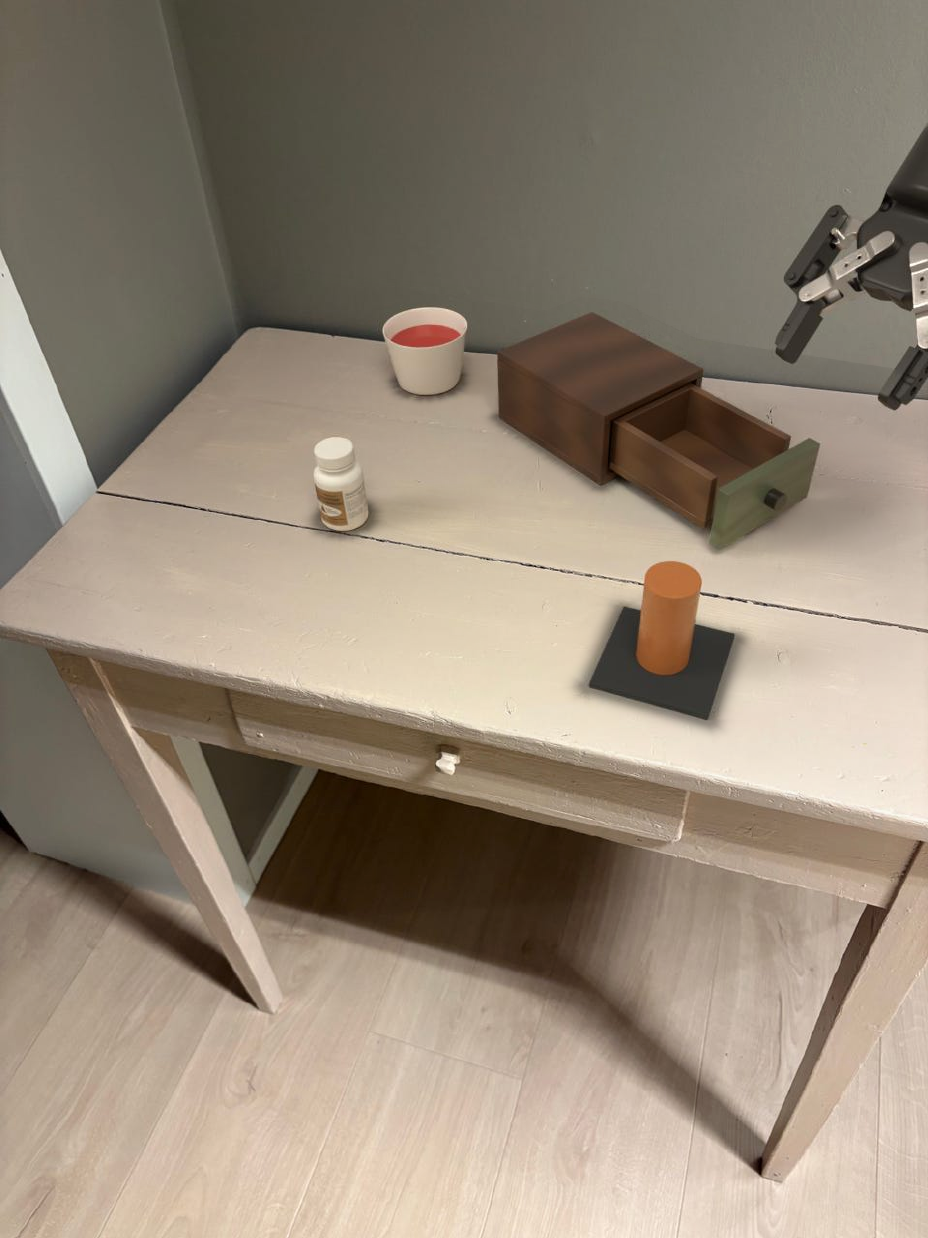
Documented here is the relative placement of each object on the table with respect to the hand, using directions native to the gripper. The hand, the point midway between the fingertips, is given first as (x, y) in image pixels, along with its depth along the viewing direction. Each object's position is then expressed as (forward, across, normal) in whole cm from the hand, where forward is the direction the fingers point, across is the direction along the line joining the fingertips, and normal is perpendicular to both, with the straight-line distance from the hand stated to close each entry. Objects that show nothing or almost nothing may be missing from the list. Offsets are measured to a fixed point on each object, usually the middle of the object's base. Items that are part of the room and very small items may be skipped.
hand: (832, 381), depth 65 cm
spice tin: (+23, -1, +2) cm, 23 cm away
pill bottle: (+29, -32, -6) cm, 44 cm away
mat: (+23, -1, +3) cm, 23 cm away
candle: (+16, -48, +9) cm, 51 cm away
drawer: (+11, -14, +15) cm, 23 cm away
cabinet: (+11, -29, +15) cm, 35 cm away
